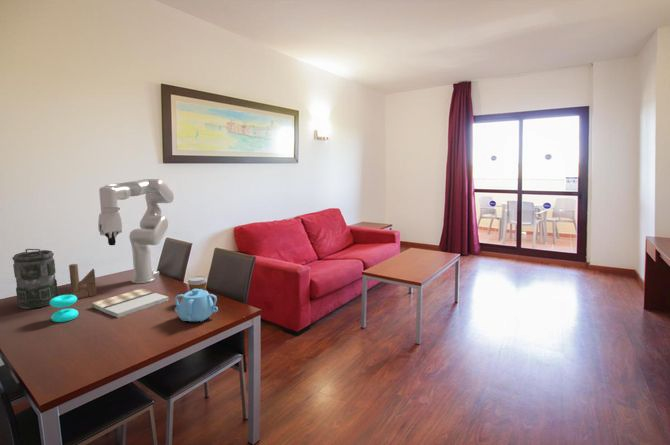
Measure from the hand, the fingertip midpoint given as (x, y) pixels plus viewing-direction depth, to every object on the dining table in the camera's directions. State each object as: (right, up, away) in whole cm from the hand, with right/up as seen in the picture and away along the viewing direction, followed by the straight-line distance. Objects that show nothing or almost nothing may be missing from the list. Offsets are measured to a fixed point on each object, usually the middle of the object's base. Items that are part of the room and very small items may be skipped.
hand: (112, 244), depth 196 cm
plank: (+10, -28, -7) cm, 31 cm away
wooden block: (-15, -28, 0) cm, 31 cm away
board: (+20, -30, -12) cm, 38 cm away
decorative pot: (+54, -32, -25) cm, 68 cm away
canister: (-30, -29, -11) cm, 43 cm away
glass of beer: (+47, -29, -4) cm, 55 cm away
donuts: (-4, -32, -28) cm, 43 cm away
